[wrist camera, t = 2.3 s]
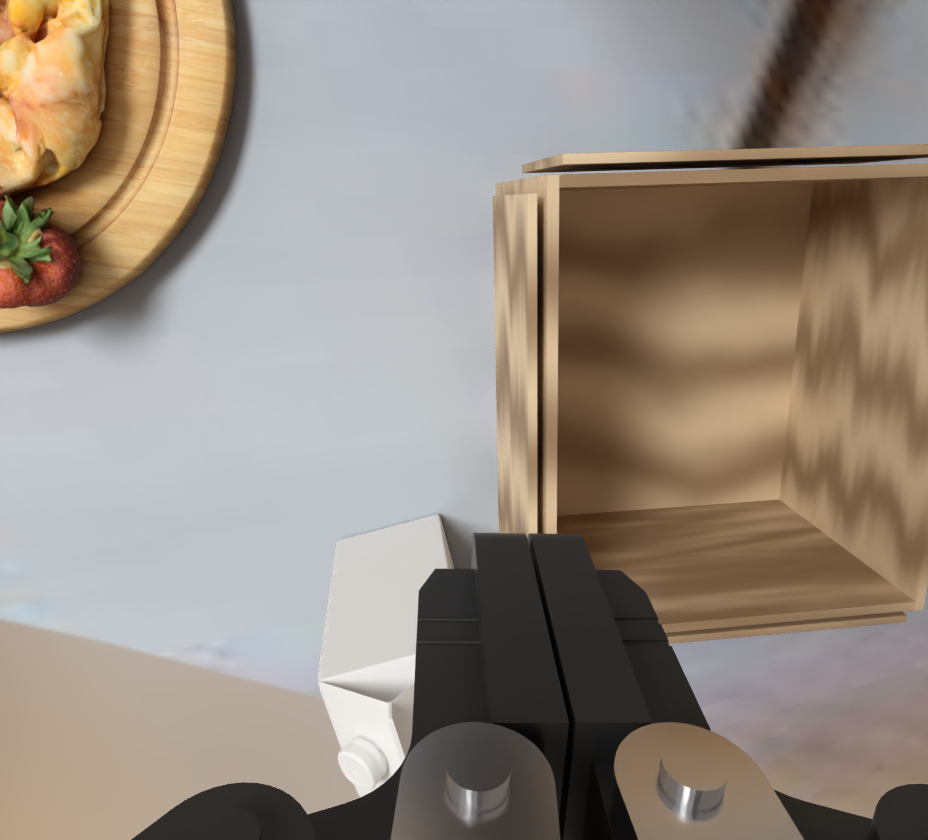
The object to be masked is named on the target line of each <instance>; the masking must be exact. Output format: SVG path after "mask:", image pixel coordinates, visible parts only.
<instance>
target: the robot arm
mask: <svg viewBox="0 0 928 840" xmlns="http://www.w3.org/2000/svg"><path fill="white" fill-rule="evenodd" d="M132 840H928V785H926V784H908V785H903V786H899V787H896V788H894V789H892V790H890V791H888V792H887V793H886V794H885V795H883V796H882V797H881V799H880V801H879V802H878V804H877V806H876V809H875V813H874V816H873V819H869V818H866V817H862V816H858V815H854V814H850V813H847V812H843V811H839V810H835V809H832V808H828V807H824V806H820V805H816V804H813V803H809V802H805V801H802V800H799V799H796V798H793V797H790V796H787V795H785V794H783V793H780V792H778V791H776V790H774V789H773V788H772V786H771V785H770V783H769V782H768V780H767V778H766V777H765V775H764V773H763V772H762V771H761V769H760V768H759V767H758V765H757V764H756V763H755V762H754V761H753V760H752V758H751V757H750V756H749V755H748V754H747V753H745V752H744V751H743V750H742V749H740V748H739V747H738V746H737V745H735V744H734V743H732V742H731V741H729V740H728V739H726V738H724V737H722V736H720V735H718V734H716V733H714V732H712V731H711V730H710V727H709V725H708V723H707V721H706V719H705V717H704V715H703V712H702V710H701V708H700V706H699V704H698V702H697V700H696V698H695V695H694V693H693V691H692V689H691V687H690V685H689V683H688V681H687V678H686V676H685V674H684V672H683V670H682V668H681V666H680V663H679V661H678V659H677V657H676V655H675V653H674V651H673V649H672V646H669V640H668V638H667V636H666V634H665V632H664V629H663V627H662V625H661V624H659V623H658V617H657V614H656V612H655V610H654V608H653V606H652V604H651V602H650V600H649V597H648V595H647V593H646V592H645V591H644V590H643V589H642V588H641V587H639V586H638V585H637V584H636V583H635V582H634V581H632V580H631V579H630V578H629V577H628V576H627V575H626V574H624V573H623V572H622V571H621V570H595V567H594V564H593V562H592V559H591V556H590V554H589V551H588V548H587V545H586V543H585V540H584V538H583V536H582V535H581V534H541V533H529V534H528V537H527V536H526V534H525V533H473V538H472V555H471V569H435V570H434V571H433V572H432V574H431V575H430V576H429V578H428V579H427V580H426V582H425V583H424V584H423V586H422V587H421V588H420V590H419V596H418V617H417V638H416V659H415V681H414V702H413V723H412V737H411V744H410V747H409V750H408V753H407V755H406V757H405V759H404V761H403V762H402V764H401V766H400V767H399V768H398V769H397V771H396V772H395V773H394V774H393V775H392V776H391V777H390V778H389V779H388V780H387V781H386V782H385V783H384V784H382V785H381V786H379V787H378V788H376V789H375V790H374V791H372V792H370V793H368V794H366V795H364V796H363V797H361V798H359V799H356V800H353V801H351V802H348V803H345V804H342V805H339V806H335V807H332V808H328V809H325V810H321V811H318V812H315V813H311V814H308V815H307V814H306V812H305V811H304V809H303V808H302V806H301V805H300V804H299V803H298V802H297V801H296V800H295V799H294V798H293V797H292V796H290V795H289V794H287V793H285V792H284V791H282V790H280V789H277V788H275V787H272V786H269V785H264V784H259V783H234V784H227V785H223V786H219V787H215V788H212V789H209V790H206V791H203V792H201V793H199V794H196V795H194V796H193V797H191V798H189V799H187V800H185V801H184V802H182V803H180V804H179V805H177V806H176V807H174V808H173V809H172V810H170V811H169V812H168V813H166V814H165V815H164V816H162V817H161V818H160V819H158V820H157V821H156V822H154V823H153V824H152V825H150V826H149V827H148V828H146V829H145V830H144V831H142V832H141V833H140V834H138V835H137V836H136V837H134V838H133V839H132Z"/></svg>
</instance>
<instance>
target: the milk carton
mask: <svg viewBox="0 0 928 840" xmlns="http://www.w3.org/2000/svg"><path fill="white" fill-rule="evenodd" d="M435 569H454V566H453V562H452V558H451V554H450V551H449V547H448V543H447V540H446V536H445V532H444V529H443V525H442V522H441V518H440V516H439V514H436V515H433V516H429V517H425V518H421V519H417V520H414V521H410V522H406V523H402V524H398V525H395V526H391V527H387V528H383V529H379V530H376V531H372V532H368V533H364V534H360V535H357V536H353V537H349V538H345V539H342V540H338V541H337V543H336V550H335V557H334V564H333V572H332V579H331V586H330V593H329V600H328V607H327V615H326V622H325V629H324V636H323V643H322V650H321V657H320V665H319V673H318V684H319V688H320V691H321V694H322V697H323V700H324V702H325V705H326V708H327V711H328V714H329V716H330V719H331V722H332V725H333V727H334V730H335V733H336V736H337V739H338V741H339V744H340V747H341V751H340V752H339V755H338V762H339V765H340V767H341V770H342V771H343V773H344V774H345V776H346V777H347V778H348V779H349V780H350V781H351V782H352V783H353V784H354V785H355V788H356V790H357V793H358V794H359V796H360V797H363V796H364V795H366V794H368V793H370V792H372V791H374V790H375V789H376V788H378V787H379V786H381V785H382V784H384V783H385V782H386V781H387V780H388V779H389V778H390V777H391V776H392V775H393V774H394V773H395V772H396V771H397V769H398V768H399V767H400V766H401V764H402V762H403V761H404V759H405V757H406V755H407V753H408V750H409V747H410V744H411V737H412V723H413V702H414V681H415V659H416V638H417V617H418V596H419V590H420V588H421V587H422V586H423V584H424V583H425V582H426V580H427V579H428V578H429V576H430V575H431V574H432V572H433V571H434V570H435Z"/></svg>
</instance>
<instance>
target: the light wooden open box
mask: <svg viewBox="0 0 928 840" xmlns="http://www.w3.org/2000/svg"><path fill="white" fill-rule="evenodd" d="M927 157H928V144H917V145H880V146H842V147H804V148H766V149H729V150H691V151H653V152H615V153H578V154H561V155H557V156H554V157H550V158H546V159H543V160H539V161H535V162H532V163H528V164H524V165H523V173H543V172H577V171H612V170H647V169H681V168H716V167H750V166H785V165H820V164H854V163H867V162H879V161H891V160H903V159H915V158H927ZM493 230H494V285H495V340H496V395H497V450H498V506H499V533H525V534H526V536H527V537H528V534H529V533H541V534H581V535H582V536H583V538H584V540H585V543H586V545H587V548H588V551H589V554H590V556H591V559H592V562H593V564H594V567H595V570H621V571H622V572H623V573H624V574H626V575H627V576H628V577H629V578H630V579H631V580H632V581H634V582H635V583H636V584H637V585H638V586H639V587H641V588H642V589H643V590H644V591H645V592H646V593H647V595H648V597H649V600H650V602H651V604H652V606H653V608H654V610H655V612H656V614H657V617H658V623H659V624H661V625H662V627H663V629H664V632H665V634H666V636H667V638H668V640H669V644H672V643H683V642H694V641H704V640H715V639H726V638H737V637H748V636H759V635H770V634H780V633H791V632H802V631H813V630H824V629H835V628H845V627H856V626H867V625H878V624H889V623H900V622H906V617H907V615H906V614H904V613H903V612H902V611H912V610H923V608H924V602H925V596H926V591H927V585H928V164H907V165H872V166H838V167H804V168H770V169H735V170H701V171H667V172H633V173H598V174H564V175H544V176H539V177H533V178H527V179H521V180H515V181H509V182H503V183H498V184H496V196H493Z"/></svg>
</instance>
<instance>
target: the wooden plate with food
mask: <svg viewBox="0 0 928 840" xmlns="http://www.w3.org/2000/svg"><path fill="white" fill-rule="evenodd" d="M236 64H237V50H236V31H235V16H234V10H233V4H232V0H0V333H5V332H13V331H18V330H23V329H27V328H31V327H35V326H39V325H43V324H47V323H50V322H53V321H56V320H59V319H62V318H65V317H68V316H71V315H73V314H75V313H77V312H79V311H81V310H84V309H86V308H88V307H90V306H92V305H94V304H96V303H98V302H100V301H102V300H104V299H106V298H107V297H109V296H111V295H112V294H114V293H115V292H117V291H118V290H120V289H122V288H123V287H125V286H126V285H128V284H129V283H131V282H132V281H133V280H134V279H136V278H137V277H138V276H139V275H140V274H142V273H143V272H144V271H145V270H146V269H147V268H148V267H149V266H150V265H151V264H152V263H153V262H154V261H155V260H157V259H158V258H159V257H160V256H161V255H162V253H163V252H164V251H165V250H166V249H167V248H168V247H169V245H170V244H171V243H172V242H173V241H174V240H175V238H176V237H177V236H178V234H179V233H180V232H181V231H182V229H183V228H184V227H185V226H186V224H187V223H188V222H189V220H190V219H191V218H192V216H193V215H194V213H195V211H196V210H197V208H198V206H199V204H200V202H201V200H202V198H203V196H204V194H205V192H206V190H207V188H208V186H209V184H210V182H211V180H212V178H213V176H214V173H215V170H216V167H217V164H218V162H219V159H220V156H221V153H222V149H223V146H224V142H225V138H226V135H227V131H228V127H229V122H230V118H231V113H232V109H233V101H234V92H235V84H236Z"/></svg>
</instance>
